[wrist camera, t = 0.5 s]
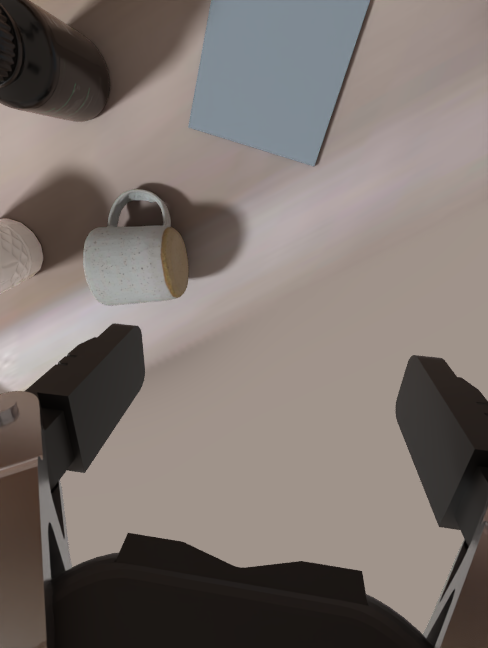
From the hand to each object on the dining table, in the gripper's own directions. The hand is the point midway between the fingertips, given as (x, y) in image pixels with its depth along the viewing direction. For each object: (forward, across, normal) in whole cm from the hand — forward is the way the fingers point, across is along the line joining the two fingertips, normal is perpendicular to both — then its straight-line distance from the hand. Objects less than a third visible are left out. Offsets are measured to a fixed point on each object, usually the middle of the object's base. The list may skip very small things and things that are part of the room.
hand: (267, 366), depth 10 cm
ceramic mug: (+27, +14, +3) cm, 30 cm away
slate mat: (+27, +2, -12) cm, 29 cm away
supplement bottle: (+27, +20, -11) cm, 35 cm away
